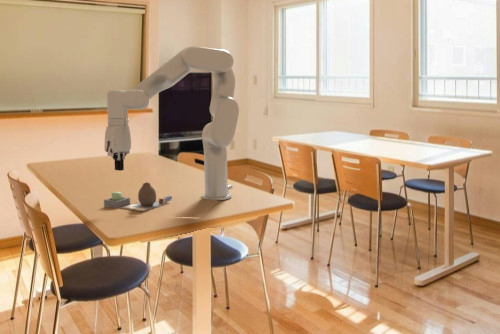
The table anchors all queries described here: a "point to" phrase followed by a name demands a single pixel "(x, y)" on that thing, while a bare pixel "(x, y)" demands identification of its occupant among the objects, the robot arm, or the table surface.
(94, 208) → the table surface
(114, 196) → the button
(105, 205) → the button box
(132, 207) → the picture frame
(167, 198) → the marker
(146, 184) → the vase
